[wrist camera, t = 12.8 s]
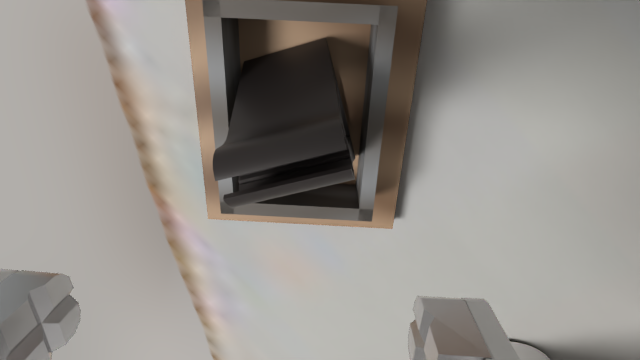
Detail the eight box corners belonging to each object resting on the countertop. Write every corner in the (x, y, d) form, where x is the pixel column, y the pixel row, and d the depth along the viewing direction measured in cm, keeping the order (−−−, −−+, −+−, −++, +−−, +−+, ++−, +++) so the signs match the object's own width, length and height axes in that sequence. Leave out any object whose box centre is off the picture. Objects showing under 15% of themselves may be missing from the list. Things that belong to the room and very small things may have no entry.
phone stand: (355, 156, 27) (370, 245, 16) (282, 173, 28) (251, 269, 17) (327, 37, 24) (323, 50, 13) (245, 60, 25) (176, 91, 14)
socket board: (389, 219, 31) (400, 257, 26) (213, 210, 32) (191, 245, 27) (427, -40, 23) (454, -57, 18) (188, -51, 23) (149, -70, 18)
